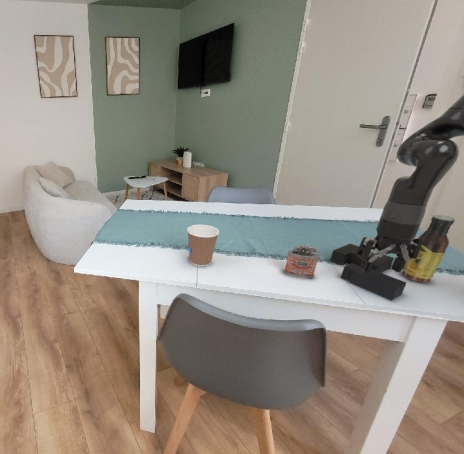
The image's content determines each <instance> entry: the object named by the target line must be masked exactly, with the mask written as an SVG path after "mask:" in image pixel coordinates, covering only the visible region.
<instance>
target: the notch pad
mask: <svg viewBox="0 0 464 454" xmlns="http://www.w3.org/2000/svg"><path fill="white" fill-rule="evenodd" d="M359 246H360V245H357V244H353V243H348V244H344V245H343V246H341V247H338V248H336V249H333V250H332V253H331V256H330V260H329V261H330V262H332V263H335V264H337V265H339V266H345V265H348V264H351V263H353V264H356V265H358V266H361V263H362V259H361V258H359V257H357V256H356V253H357V251H358V248H359ZM362 254H364V251H363V253H362ZM372 255H373V254H371V255H370V256H369V257H371V256H372ZM394 260H395V257H393V256H390V255H388V254H384V255H383V256H382V257H378V258H376V259H375V260H374V261H373V265H372V267H371V269H372V270H375V271H377V272H380V273H385V272H387V271H388V270H390V269H391V268H392V265H393V263H394Z"/></svg>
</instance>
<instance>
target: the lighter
mask: <svg viewBox="0 0 464 454" xmlns="http://www.w3.org/2000/svg"><path fill="white" fill-rule="evenodd" d="M318 253H319V248H318V247H313V246H306V245H305V244H301V245H293V250H292V249H291V250H288V251H287V257H286V258H287V259H286V262H285V267H284V269H283V274H284V275H287V276H290V277H294V278H301V279H309V280H312V279H314V277H315V271H316V268H317V264H318V260H319V259H320V254H318Z"/></svg>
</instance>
